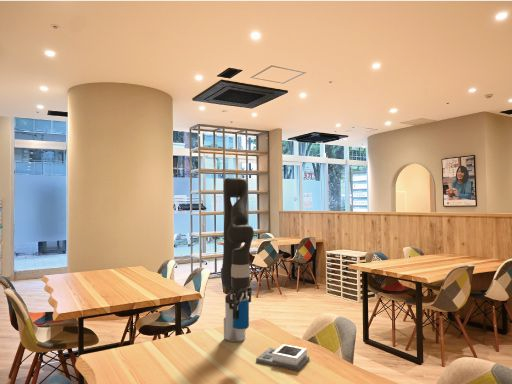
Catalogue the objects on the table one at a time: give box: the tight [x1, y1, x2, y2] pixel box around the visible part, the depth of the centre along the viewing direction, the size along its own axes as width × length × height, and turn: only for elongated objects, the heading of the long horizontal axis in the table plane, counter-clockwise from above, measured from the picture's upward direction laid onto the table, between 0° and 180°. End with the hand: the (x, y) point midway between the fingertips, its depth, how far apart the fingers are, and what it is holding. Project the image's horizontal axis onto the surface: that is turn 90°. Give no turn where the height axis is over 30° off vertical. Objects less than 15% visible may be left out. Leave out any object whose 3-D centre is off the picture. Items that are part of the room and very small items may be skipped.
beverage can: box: [233, 297, 250, 331], centre depth 150 cm, size 6×6×12 cm
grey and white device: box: [255, 343, 310, 372], centre depth 150 cm, size 18×12×4 cm, turn 61°
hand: (240, 316), depth 150 cm, fingers closed on beverage can, 6 cm apart
